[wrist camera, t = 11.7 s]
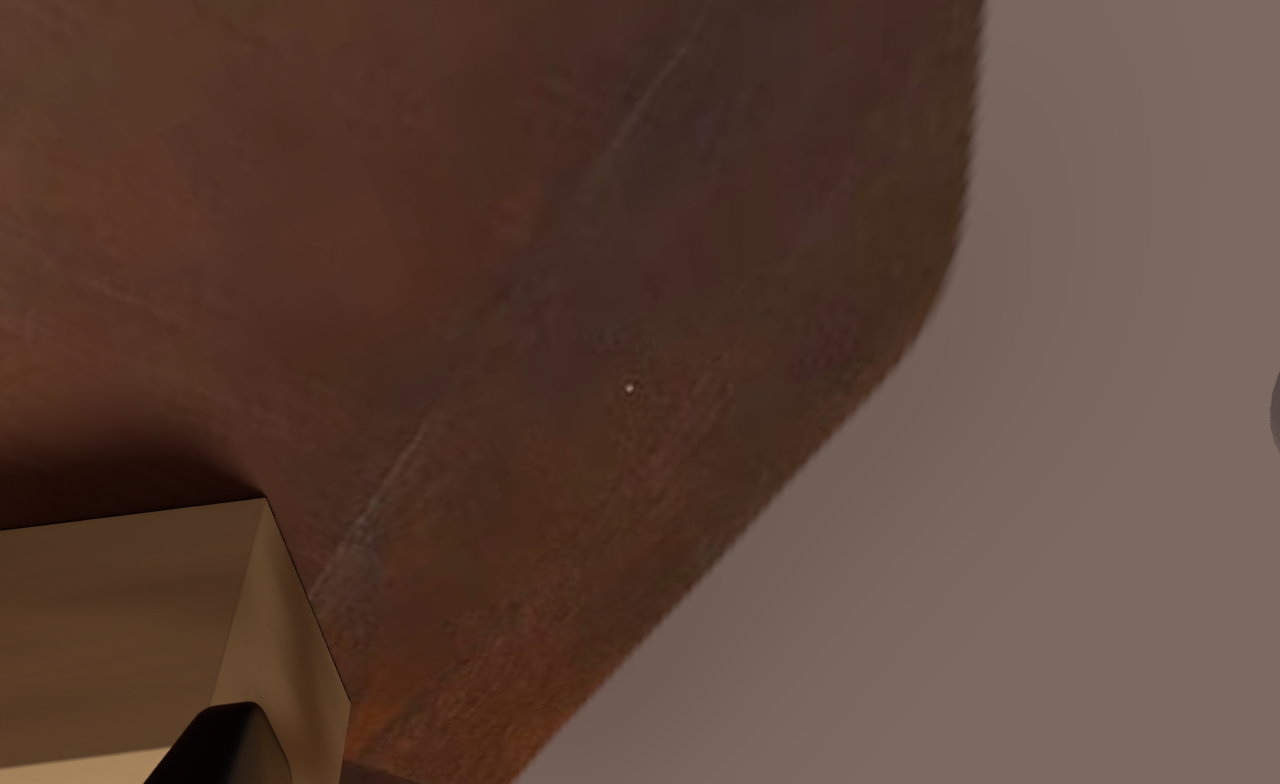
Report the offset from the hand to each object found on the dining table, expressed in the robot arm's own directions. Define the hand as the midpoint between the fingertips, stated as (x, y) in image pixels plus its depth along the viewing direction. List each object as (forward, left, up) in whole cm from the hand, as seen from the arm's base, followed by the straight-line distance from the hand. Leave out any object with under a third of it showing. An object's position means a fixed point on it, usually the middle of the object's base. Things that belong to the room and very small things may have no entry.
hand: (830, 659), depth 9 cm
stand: (+8, +15, -12) cm, 21 cm away
